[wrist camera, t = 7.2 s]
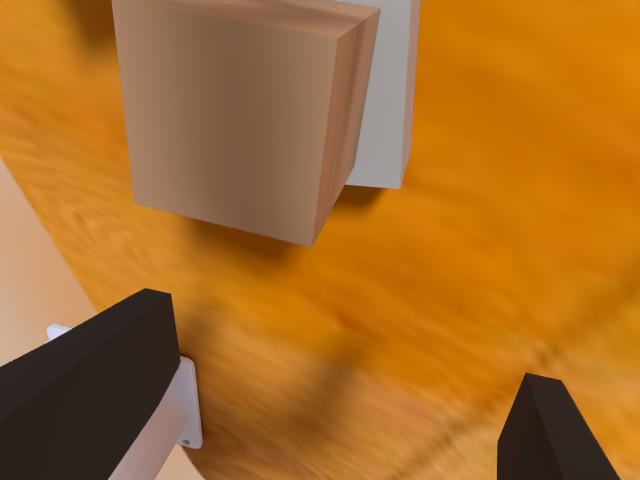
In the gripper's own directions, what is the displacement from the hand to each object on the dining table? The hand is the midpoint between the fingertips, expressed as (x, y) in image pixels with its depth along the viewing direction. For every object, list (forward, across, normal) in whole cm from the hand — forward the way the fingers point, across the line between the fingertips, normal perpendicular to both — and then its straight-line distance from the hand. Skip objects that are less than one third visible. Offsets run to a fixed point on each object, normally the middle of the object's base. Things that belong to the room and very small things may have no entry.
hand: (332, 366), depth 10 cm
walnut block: (+7, +3, -4) cm, 9 cm away
